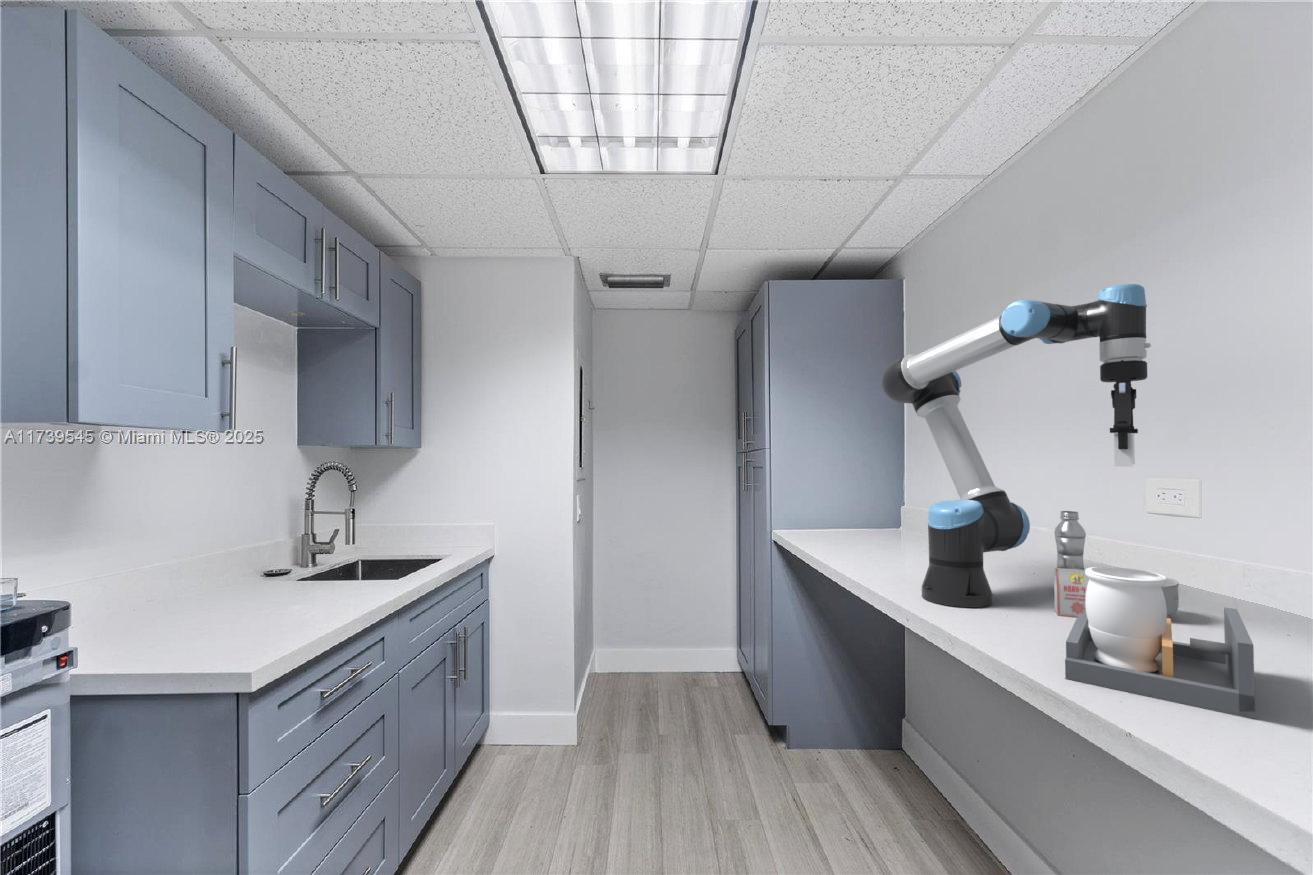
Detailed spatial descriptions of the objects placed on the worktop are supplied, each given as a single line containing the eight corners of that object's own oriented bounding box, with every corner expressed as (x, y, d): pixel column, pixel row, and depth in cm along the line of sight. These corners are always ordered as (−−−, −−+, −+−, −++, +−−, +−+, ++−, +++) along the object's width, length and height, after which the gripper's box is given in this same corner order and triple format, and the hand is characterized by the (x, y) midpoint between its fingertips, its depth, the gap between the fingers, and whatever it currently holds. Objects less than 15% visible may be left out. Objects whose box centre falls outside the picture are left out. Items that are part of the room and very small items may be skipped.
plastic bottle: (1048, 588, 148) (1046, 510, 148) (1072, 587, 149) (1070, 510, 149) (1068, 595, 141) (1067, 513, 142) (1093, 594, 142) (1092, 512, 142)
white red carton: (1054, 611, 128) (1053, 566, 128) (1092, 615, 125) (1091, 569, 125) (1057, 616, 125) (1056, 569, 125) (1096, 620, 122) (1095, 572, 122)
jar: (1185, 678, 89) (1183, 580, 89) (1111, 674, 91) (1109, 579, 91) (1139, 653, 99) (1137, 566, 100) (1073, 651, 101) (1071, 565, 101)
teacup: (1190, 625, 118) (1189, 586, 118) (1125, 620, 121) (1124, 582, 122) (1158, 607, 131) (1157, 571, 131) (1100, 603, 134) (1099, 568, 135)
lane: (1065, 678, 92) (1064, 615, 92) (1079, 642, 108) (1078, 588, 108) (1254, 719, 78) (1253, 644, 78) (1238, 670, 94) (1236, 608, 95)
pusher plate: (1162, 686, 85) (1161, 645, 86) (1162, 652, 99) (1161, 617, 99) (1173, 688, 85) (1172, 647, 85) (1171, 653, 98) (1170, 618, 98)
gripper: (1146, 352, 106) (1148, 467, 106) (1147, 365, 125) (1149, 463, 125) (1095, 357, 111) (1097, 467, 111) (1104, 369, 130) (1106, 463, 130)
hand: (1125, 465), depth 118 cm, fingers open, 13 cm apart
